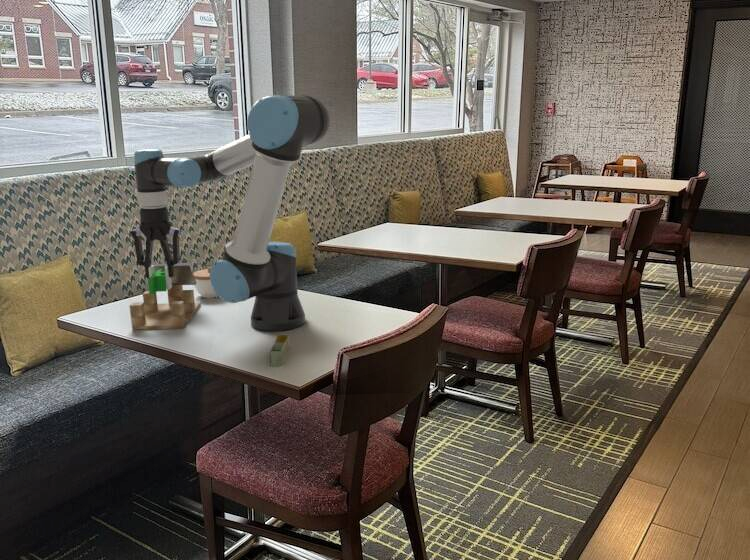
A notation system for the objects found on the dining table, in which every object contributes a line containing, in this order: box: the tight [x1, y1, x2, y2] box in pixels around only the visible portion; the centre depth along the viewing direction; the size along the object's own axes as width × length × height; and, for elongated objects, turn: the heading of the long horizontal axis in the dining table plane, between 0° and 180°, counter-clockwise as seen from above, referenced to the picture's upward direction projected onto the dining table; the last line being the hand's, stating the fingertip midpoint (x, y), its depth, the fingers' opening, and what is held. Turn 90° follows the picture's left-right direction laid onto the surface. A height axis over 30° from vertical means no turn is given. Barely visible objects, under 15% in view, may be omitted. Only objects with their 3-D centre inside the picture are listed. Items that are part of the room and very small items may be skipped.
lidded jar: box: [193, 266, 219, 299], centre depth 220 cm, size 11×11×9 cm
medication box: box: [269, 334, 290, 367], centre depth 165 cm, size 12×3×4 cm, turn 179°
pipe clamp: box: [147, 269, 168, 294], centre depth 193 cm, size 11×4×5 cm, turn 2°
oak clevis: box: [129, 285, 201, 330], centre depth 198 cm, size 14×22×7 cm, turn 2°
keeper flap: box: [151, 262, 196, 286], centre depth 203 cm, size 13×9×1 cm
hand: (161, 288), depth 193 cm, fingers closed on pipe clamp, 4 cm apart
